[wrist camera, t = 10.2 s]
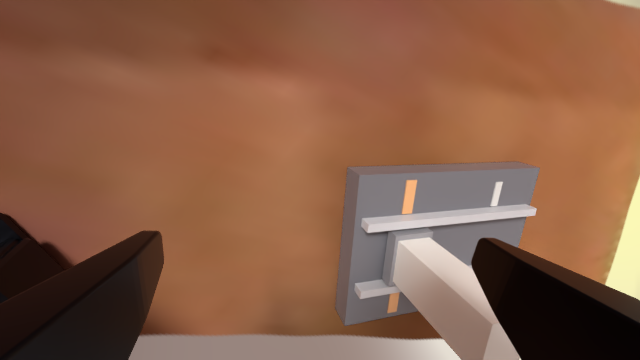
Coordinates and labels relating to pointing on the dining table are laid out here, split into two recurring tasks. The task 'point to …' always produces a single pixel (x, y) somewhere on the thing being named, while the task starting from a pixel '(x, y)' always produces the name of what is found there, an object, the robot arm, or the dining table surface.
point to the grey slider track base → (423, 222)
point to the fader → (445, 295)
